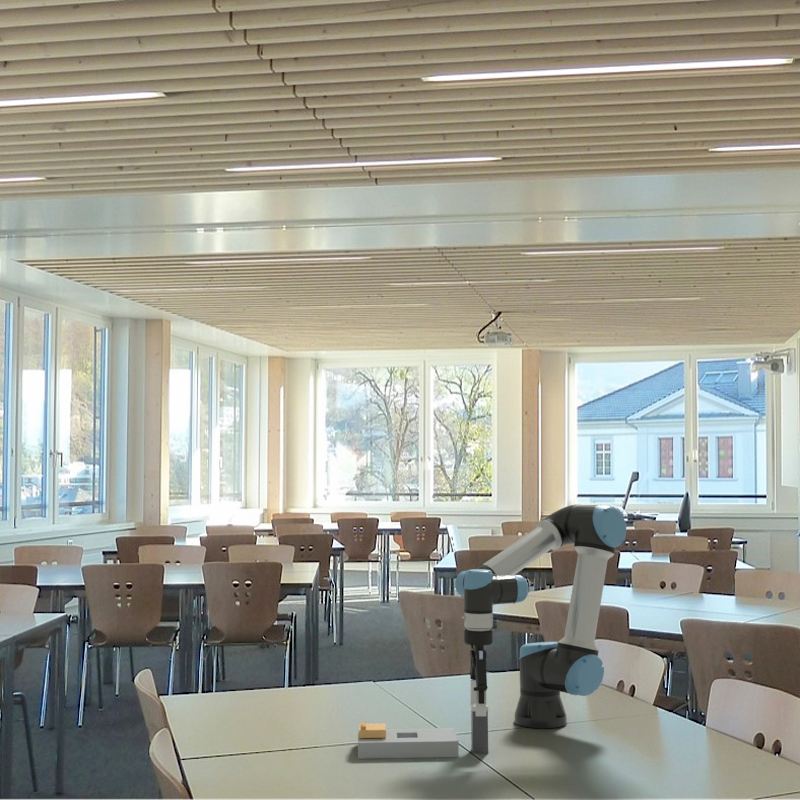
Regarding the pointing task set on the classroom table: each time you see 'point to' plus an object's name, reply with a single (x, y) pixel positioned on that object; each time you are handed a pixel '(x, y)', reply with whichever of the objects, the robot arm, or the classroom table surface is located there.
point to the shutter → (372, 730)
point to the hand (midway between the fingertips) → (478, 710)
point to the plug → (479, 731)
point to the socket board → (411, 744)
